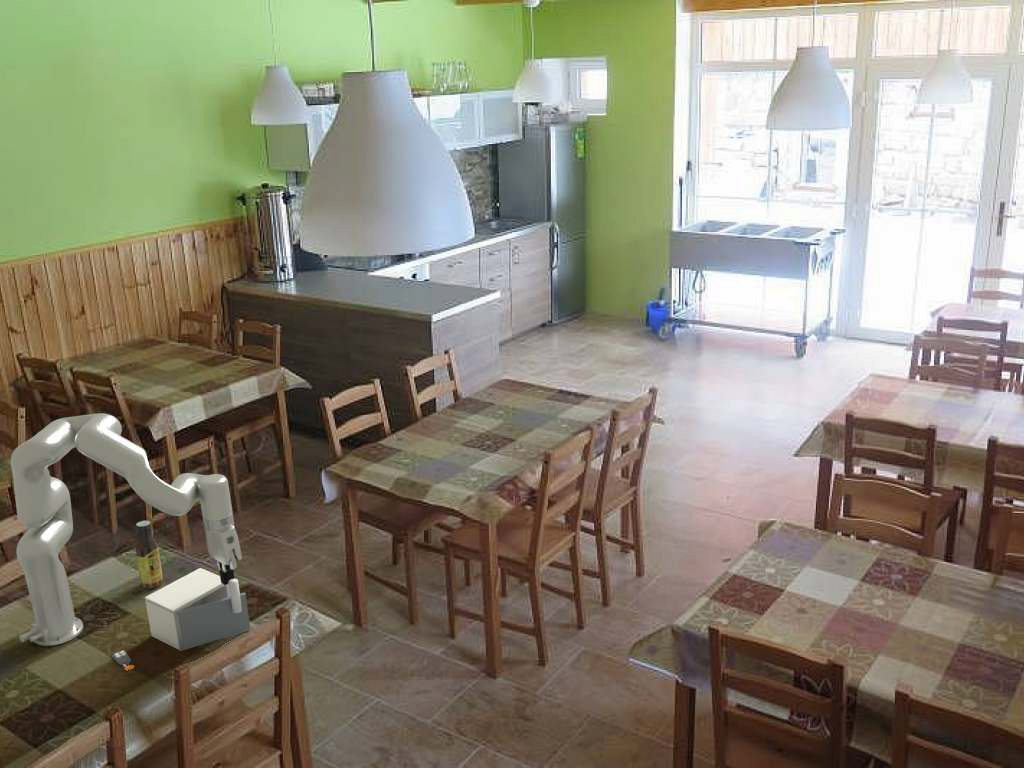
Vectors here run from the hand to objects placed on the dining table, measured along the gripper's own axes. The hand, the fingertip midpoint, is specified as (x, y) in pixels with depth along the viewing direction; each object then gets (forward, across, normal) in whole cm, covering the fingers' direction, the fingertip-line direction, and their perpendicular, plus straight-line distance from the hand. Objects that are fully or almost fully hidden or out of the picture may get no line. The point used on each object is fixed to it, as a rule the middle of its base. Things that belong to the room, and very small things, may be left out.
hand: (228, 582), depth 258 cm
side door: (+13, -3, +7) cm, 16 cm away
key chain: (+14, +5, +28) cm, 32 cm away
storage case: (+14, +9, +8) cm, 18 cm away
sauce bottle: (+14, +39, +5) cm, 41 cm away
